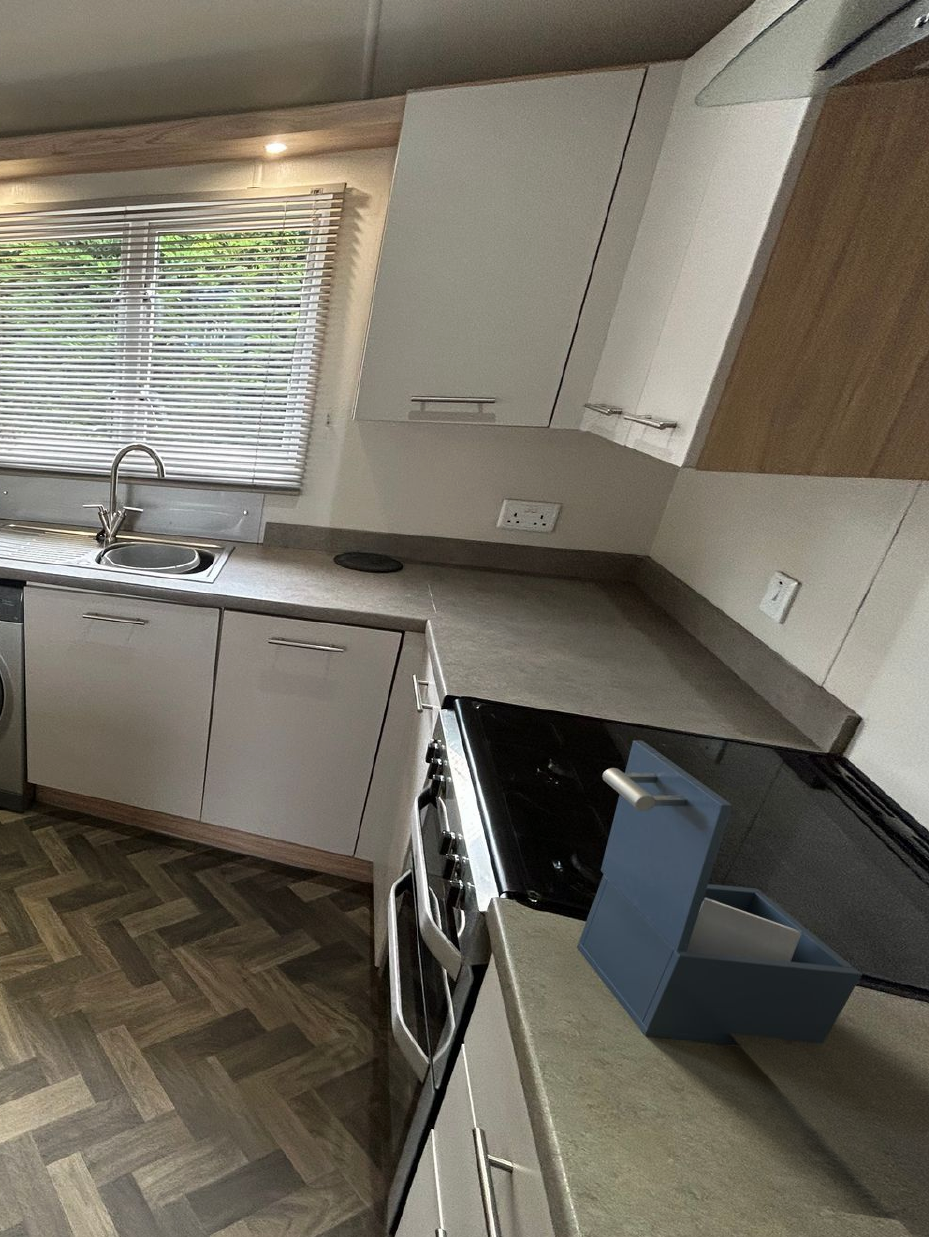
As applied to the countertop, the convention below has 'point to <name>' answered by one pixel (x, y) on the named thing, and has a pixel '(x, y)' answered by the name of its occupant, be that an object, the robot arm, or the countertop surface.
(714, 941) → the grey rectangular block
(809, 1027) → the waste bin
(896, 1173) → the countertop surface
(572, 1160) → the countertop surface
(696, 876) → the bin lid
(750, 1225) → the countertop surface
